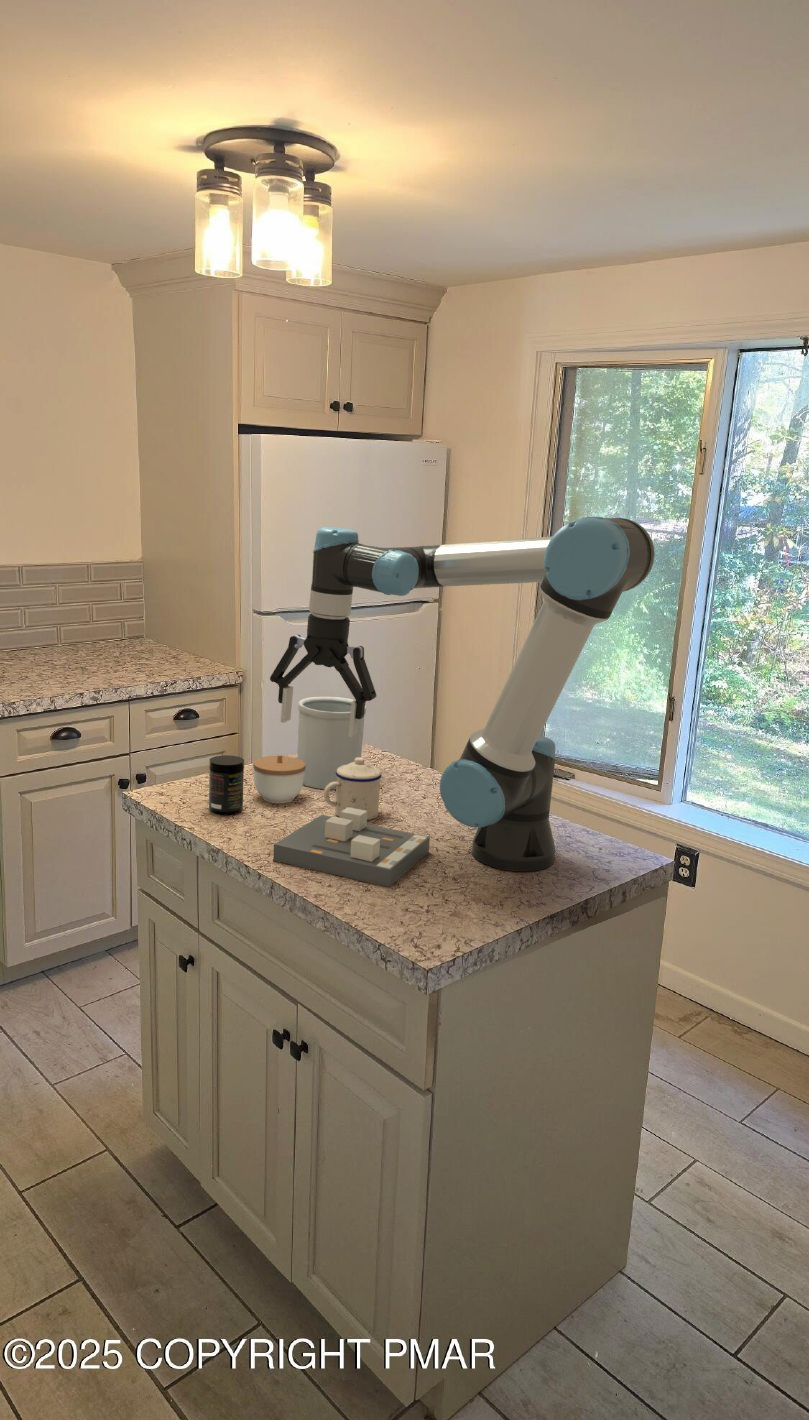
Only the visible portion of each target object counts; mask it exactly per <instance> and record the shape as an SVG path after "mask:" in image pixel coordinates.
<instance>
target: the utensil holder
mask: <svg viewBox="0 0 809 1420" xmlns="http://www.w3.org/2000/svg"><path fill="white" fill-rule="evenodd" d="M354 700H355V699H352V698H347V697H338V696H311V697H305V698H302V699H301V700H299V701H298V705H297V706H298V707H297V708H298V711H299V714H298V730H297V731H298V733H297V735H298V736H297V751H296V752H297V753H296V754H297V755H296V758H297V759H300V760H302V761H304V762H305V763H306V769H305V778H304V783H303V786H305V787H309V788H314V789H319V790H324V789H325V787H326V786H327V785H328V784H329V783H331V782H337V775H336V771H337V769H338V768H339V767H341V766H343V765H348V764H349V763H352V762H354V760H355V758H357V757H361V758H362V753H363V740H364V739H363V738H364V727H365V715H366V713H367V705H366V704H365V712H364V716H363V718H362V719H359V723H358V732H357V734H356V735H354V736H353V737H350V736H348V733H349V723H350V713H351V703H352V701H354ZM331 790H333V791H335V790H336V786H334V787H332V788H331V789H330V791H331Z"/></svg>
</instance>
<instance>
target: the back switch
mask: <svg viewBox="0 0 809 1420" xmlns="http://www.w3.org/2000/svg"><path fill="white" fill-rule="evenodd" d="M339 818H344V819H348V820H353V830H356V831H361V830H362V829H364V828H365V827H366V826H367V824H368V820H367V811H365V810H360V809H355V808H350V807H347V808H346V809H344V810H342V811H341V813H340V817H339Z"/></svg>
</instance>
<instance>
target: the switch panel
mask: <svg viewBox="0 0 809 1420" xmlns="http://www.w3.org/2000/svg"><path fill="white" fill-rule="evenodd" d="M331 817H332V816H331V815H324V814H321V815H319V816H318V817H316V818H314V819H313V820H311V821H310V822H308V823H306V824H305V825H303V826H301V827H300V828H298V829H296V830H294V831H293V832H292V833H290V834H288V835H286V836H285V837H283V838H282V839H280V840H279V841H277V842H275V843H274V844H273V854H272V856H273V858H272V859H273V860H272V861H274V862H278V861H280V862H279V863H282V862H283V864H286V863H287V864H286V865H291V864H292V865H291V866H296V867H299V866H301V867H300V868H304V869H309V870H312V869H313V871H317V872H322V873H326V874H332V875H336V876H338V877H345V878H348V879H353V880H357V881H361V882H366V883H371V884H374V885H377V886H382V887H388V888H390V887H391V886H392V885H393V884H395V882H397V881H398V880H399V879H400V878H401V877H402V876H403V875H405V874H406V873H407V872H408V871H409V870H410V869H411V868H413V867H414V866H416V865H417V863H419V861H421V860H422V859H423V858H424V857H425V856H426V855H427V854H429V852H430V840H431V839H430V838H431V836H427V835H423V834H417V833H413V832H408V831H403V830H399V829H398V830H397V829H393V828H388V827H383V826H378V825H373V824H369V823H367V826H366V827H365V828H364V829H362V830H361V831H356V830H353V833H352V837H351V838H349V839H348V840H346V841H340V840H336V839H331V838H326V837H325V821H327V820H328V819H330V818H331ZM358 835H362V836H367V837H371V838H376V839H380V852H379V857H377V858H376V859H375V860H373V861H372V862H371V861H366V860H362V859H357V858H353V857H350V856H351V840H352V839H354V838H355V837H357V836H358Z"/></svg>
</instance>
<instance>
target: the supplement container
mask: <svg viewBox="0 0 809 1420" xmlns="http://www.w3.org/2000/svg"><path fill="white" fill-rule="evenodd" d="M208 763H209V764H208V769H209V771H208V775H209V776H208V778H209V779H208V781H209V782H208V809H209V811H210V813H212V814H214V815H219V816H233V815H237V814H240V813H241V812H242V810H243V808H244V778H245V775H244V774H245V771H244V770H245V759H244V758H243V757H240V756H236V755H230V754H227V755H224V754H223V755H216V756H212V757H210V758H209V762H208Z"/></svg>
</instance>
